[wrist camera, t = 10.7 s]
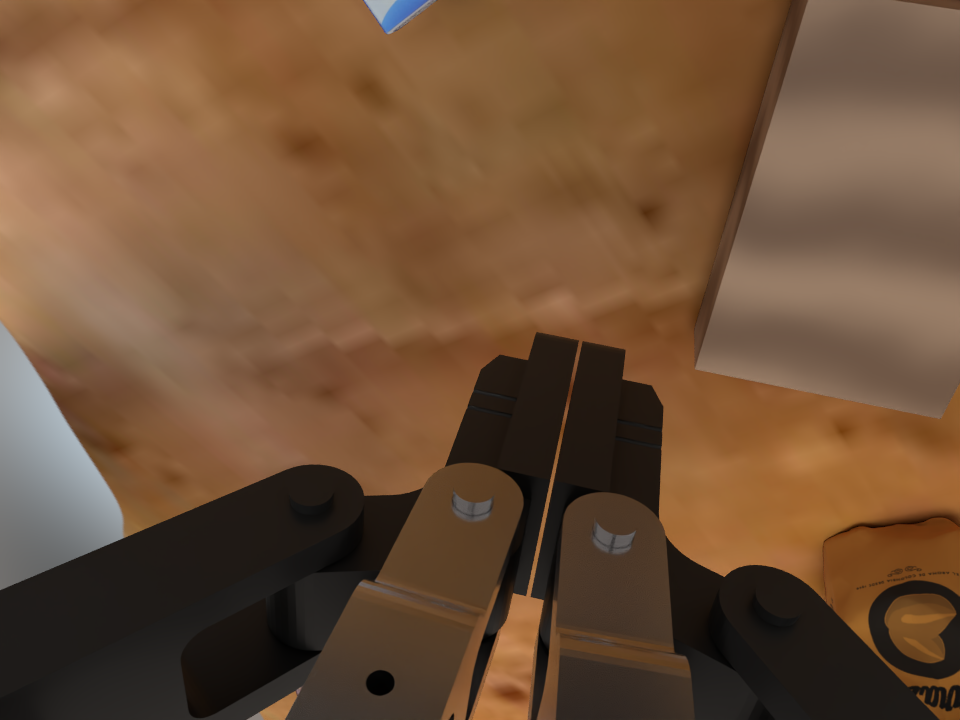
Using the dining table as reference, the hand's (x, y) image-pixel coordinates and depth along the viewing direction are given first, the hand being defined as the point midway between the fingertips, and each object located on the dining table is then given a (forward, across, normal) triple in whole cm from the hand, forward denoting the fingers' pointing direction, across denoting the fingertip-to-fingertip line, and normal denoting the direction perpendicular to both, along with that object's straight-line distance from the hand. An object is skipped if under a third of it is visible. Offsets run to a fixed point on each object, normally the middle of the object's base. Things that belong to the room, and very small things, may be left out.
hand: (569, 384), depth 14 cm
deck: (+29, -12, +6) cm, 32 cm away
